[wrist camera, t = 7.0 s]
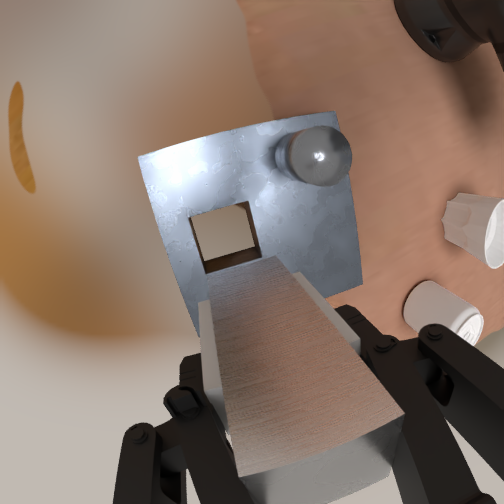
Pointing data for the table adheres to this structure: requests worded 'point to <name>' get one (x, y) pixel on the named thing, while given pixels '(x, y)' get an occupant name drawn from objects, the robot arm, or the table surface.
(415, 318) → the beverage can
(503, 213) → the cup
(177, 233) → the slotted metal base
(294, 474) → the grey square peg
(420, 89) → the table surface
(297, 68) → the table surface
